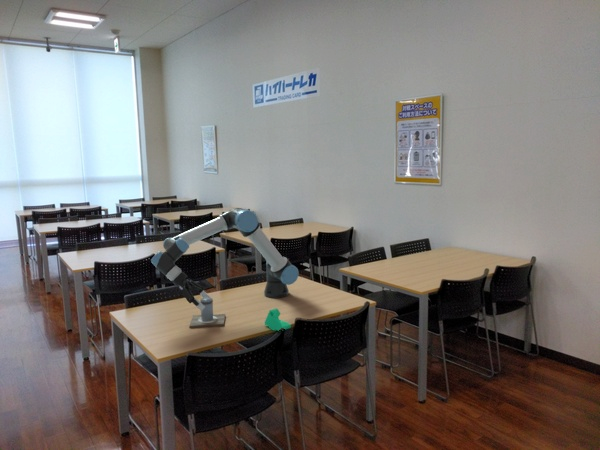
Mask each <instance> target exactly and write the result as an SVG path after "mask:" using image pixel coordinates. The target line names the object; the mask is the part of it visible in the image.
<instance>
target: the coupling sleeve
mask: <svg viewBox="0 0 600 450" xmlns="http://www.w3.org/2000/svg"><path fill="white" fill-rule="evenodd" d="M199 302H201V303H202V304H203V305H204V306H205V308H204V309H203V310H202V311H201V310H200V315H201V320H202V321H204V322H209V321H212V320H213V315H214V306H213V304H214V300H213V298H212V297H211V298H209V297H206V298H203V297H202V298H200V300H199Z"/></svg>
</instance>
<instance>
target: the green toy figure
mask: <svg viewBox="0 0 600 450" xmlns="http://www.w3.org/2000/svg"><path fill="white" fill-rule="evenodd" d="M280 315H281V313H280V310H279V309H278V308H273V309H270V310H269V311H268V313H267V316H266V318H265V320H264V326H266V327H268V329H269V330H272V331H274V332H276V331H278V332H280V331H279V330H280V329H281V328H284V329H285V330H288V329H291V328H292V326H291V325H292V324H291V323H289V322H287V321H284V320H282V319H280V318H279V317H280Z"/></svg>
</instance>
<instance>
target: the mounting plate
mask: <svg viewBox="0 0 600 450" xmlns="http://www.w3.org/2000/svg"><path fill="white" fill-rule="evenodd" d="M225 319H226V313H222V314H221V313H218V314H216V313H215V314H213V320H212V321H209V322H204V321H202V320H201V314H198V315H196V314H195V315H192V318H191V320H190V323H189V325H188V327H189V329H197V328H198V329H199V328H216V327H224V326H225V321H226V320H225Z"/></svg>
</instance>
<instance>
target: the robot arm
mask: <svg viewBox="0 0 600 450" xmlns="http://www.w3.org/2000/svg"><path fill="white" fill-rule="evenodd" d="M258 219H259V218H258V216H257V215H256V213H255V212H253V211H252V210H250V209H246V208H242V207H241V208H240V207H236V208H235V207H234V208H232V209H230V210H227V211H225V212H223V213H221V214H219V215H218V217H216V218H214V219H212V220H210V221H207V222H205V223H203V224H200V225H197V226H196V227H194V228H191V229H189V230H187V231H184V232H182V233H180V234H177V235H175V236H172V237H167V238H165V239H164V241H163V243H162V246H163V249H164V252H162V251H160V250H159V251H158V252H157V253H155V254H154V256H153V257H152V258H151V259H150V262H151V263H152V265H153V266H154V267H155V268H156V269H157V270H159V272H161V273H162V274H163V275H164V276H165V277H166V279H169V280H170V281H171V282H172V283H173V284H174V285H175V287H178V288H177V289H178V290H179V291H180V293H182V295H183V296H184V298H185V300H186V301H187V302H188V304H191V303H192V304H193V305H194V306H195V307H197V309H199V311H200V312H201V311H202V310H203V309H204V308H205V306H204V305H203V304H202V303H201V302H200V300H198V298H195V296H194V294H193V292H192V291H194V292H197V293H198V294H199V295H200V296H201V297H202V298H206V297H209V298H212V296H210V294H208V293H207V292H206V291H205V288H204V287H203V286H202V285H200V284H199V283H197V282H195V281H194V280H192V279H191V278H188V275H187V274H186V273H185V272H184V271H182V269H181V268H180V267H178V266H177V264H176V262H177V260H179V259H180V258H181V257H182V256H183V255H184V254H185V253H186V252H187V251H188V250H189V249H190V245H192V244H195V243H197V242H199V241H201V240H203V239H206V238H209V237H210V236H213V235H215V234H217V233H220V232H222V231H229V230H231V229H236V230H238V232H239V233H240V234H241V235H242V236H243V237H244V238H248V239H249V241H250V242H251V243H252V244H253V246H254V247H255V248H256V249H257V251H258V252H259V254H261V256H262V257H263V258H264V259H265V261H266V263H265V266H266V267H265V268H266V269H265V270H266V271H265V272H266V284H265V287H264V291H263V295H264V297H267V298H271V299H272V298H273V299H278V298H285V297H287V296H288V295H289V288H288V286H289V285H290V286H291V285H292V284H295V282H296V281H297V280H298V278H299V269H298V267H296V266H295V265H294V264H292V263H291V262H290V260H289V259H288V258H287V257H285V256H282V255H281V253H280V252H279V251H278V249H277V248H276V247H275V246H274V244H273V243H272V242H271V240H270V239H269V238H268V237H267V235H266V234H265V232H264V231H263V230H262V229H261V223H260V221H259V220H258Z"/></svg>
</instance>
